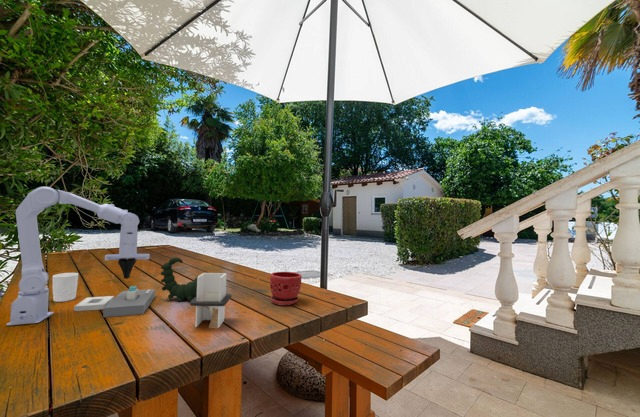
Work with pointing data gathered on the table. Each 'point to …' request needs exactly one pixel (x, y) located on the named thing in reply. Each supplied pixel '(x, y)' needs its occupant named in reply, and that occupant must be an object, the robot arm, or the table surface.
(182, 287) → the toy figurine
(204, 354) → the table surface
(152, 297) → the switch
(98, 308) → the square frame
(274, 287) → the plant pot
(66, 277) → the white cup
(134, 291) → the plug
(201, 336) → the table surface
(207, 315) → the white grey toy chair
